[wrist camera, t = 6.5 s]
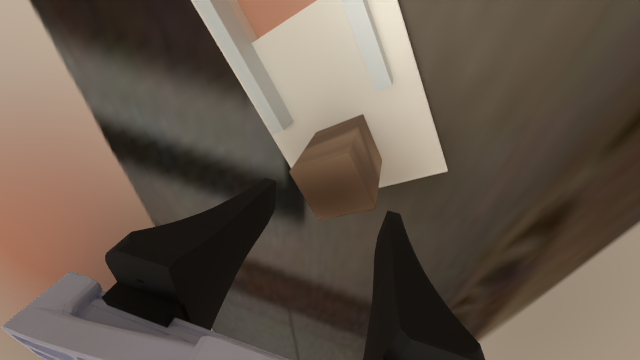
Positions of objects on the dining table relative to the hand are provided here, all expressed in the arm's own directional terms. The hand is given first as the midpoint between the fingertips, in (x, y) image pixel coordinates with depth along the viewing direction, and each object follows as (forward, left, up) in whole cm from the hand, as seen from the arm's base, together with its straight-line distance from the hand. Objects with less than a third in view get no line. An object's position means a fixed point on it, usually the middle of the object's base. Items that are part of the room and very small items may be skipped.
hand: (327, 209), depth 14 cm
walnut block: (0, 0, -8) cm, 8 cm away
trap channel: (-6, 0, -9) cm, 11 cm away
